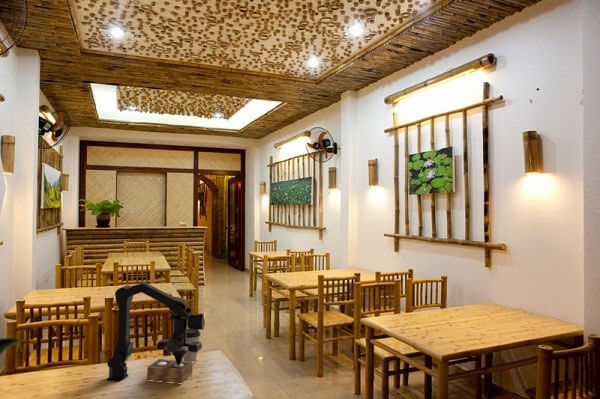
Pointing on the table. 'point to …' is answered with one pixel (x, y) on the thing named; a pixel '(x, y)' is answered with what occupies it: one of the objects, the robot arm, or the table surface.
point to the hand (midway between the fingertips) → (178, 365)
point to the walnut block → (169, 371)
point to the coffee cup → (191, 336)
